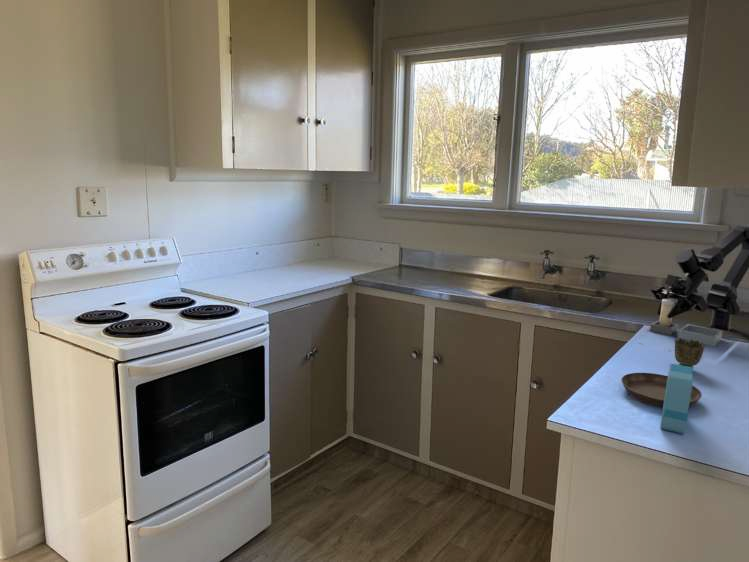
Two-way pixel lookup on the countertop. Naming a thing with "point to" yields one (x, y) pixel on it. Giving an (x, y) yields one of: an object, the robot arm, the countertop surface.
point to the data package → (677, 398)
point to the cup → (688, 352)
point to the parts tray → (700, 334)
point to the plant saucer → (652, 388)
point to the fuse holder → (664, 329)
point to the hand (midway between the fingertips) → (663, 315)
